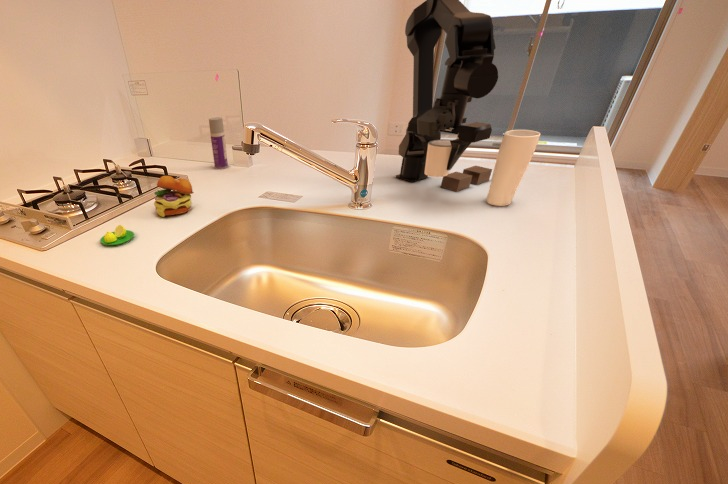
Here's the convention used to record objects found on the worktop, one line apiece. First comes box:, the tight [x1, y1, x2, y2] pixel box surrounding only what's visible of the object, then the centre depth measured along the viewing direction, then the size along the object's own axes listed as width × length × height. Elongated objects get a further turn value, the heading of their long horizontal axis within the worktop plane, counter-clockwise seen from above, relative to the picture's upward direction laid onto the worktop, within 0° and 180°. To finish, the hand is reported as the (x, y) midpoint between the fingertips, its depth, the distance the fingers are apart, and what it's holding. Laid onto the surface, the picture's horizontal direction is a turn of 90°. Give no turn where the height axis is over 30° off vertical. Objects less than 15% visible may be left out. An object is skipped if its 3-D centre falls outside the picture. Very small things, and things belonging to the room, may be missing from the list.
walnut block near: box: [440, 171, 472, 192], centre depth 97 cm, size 5×5×3 cm
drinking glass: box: [485, 129, 541, 207], centre depth 83 cm, size 7×7×15 cm
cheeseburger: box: [153, 175, 195, 218], centre depth 98 cm, size 10×11×10 cm
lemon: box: [99, 224, 135, 246], centre depth 87 cm, size 8×8×3 cm
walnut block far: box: [462, 165, 493, 186], centre depth 100 cm, size 5×5×3 cm
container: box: [208, 116, 229, 170], centre depth 124 cm, size 5×5×15 cm
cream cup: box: [424, 139, 452, 178], centre depth 89 cm, size 7×7×7 cm
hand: (437, 167), depth 90 cm, fingers closed on cream cup, 6 cm apart
